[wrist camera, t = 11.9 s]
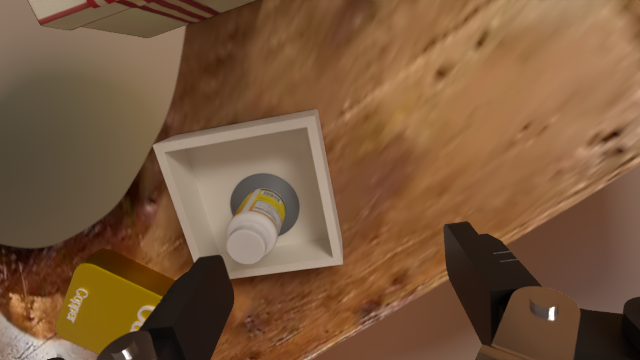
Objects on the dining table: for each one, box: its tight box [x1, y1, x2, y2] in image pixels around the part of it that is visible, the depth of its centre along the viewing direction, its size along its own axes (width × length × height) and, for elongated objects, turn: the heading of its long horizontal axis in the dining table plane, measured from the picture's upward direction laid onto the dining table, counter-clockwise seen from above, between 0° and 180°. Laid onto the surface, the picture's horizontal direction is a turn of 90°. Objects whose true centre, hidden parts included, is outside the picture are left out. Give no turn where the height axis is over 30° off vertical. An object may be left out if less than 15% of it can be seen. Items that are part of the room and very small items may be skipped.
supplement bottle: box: [226, 188, 286, 264], centre depth 38 cm, size 6×6×10 cm
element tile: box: [55, 248, 176, 354], centre depth 49 cm, size 15×15×5 cm
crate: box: [153, 109, 343, 279], centre depth 41 cm, size 18×18×6 cm
